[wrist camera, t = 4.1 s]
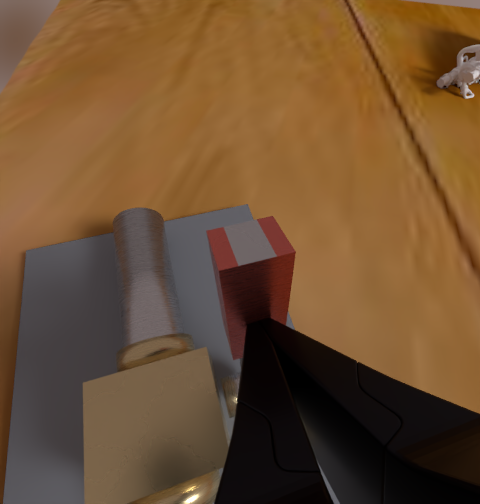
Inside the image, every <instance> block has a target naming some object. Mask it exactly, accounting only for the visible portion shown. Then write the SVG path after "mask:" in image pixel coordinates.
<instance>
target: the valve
mask: <svg viewBox="0 0 480 504" xmlns="http://www.w3.org/2000/svg"><path fill="white" fill-rule="evenodd" d="M113 232H114V244H115V256H116V268H117V281H118V293H119V305H120V317H121V329H122V342H123V348H122V349H120V350H119V351H117V353H116V365H117V373H114V374H111V375H108V376H104V377H101V378H97V379H94V380H91V381H87V382H84V383H83V432H84V500H85V504H214V501H215V497H216V494H217V490H218V486H219V483H220V479H221V477H220V472H219V469H221V468H224V464H225V461H226V457H227V453H228V449H229V444H230V438H229V434H228V429H227V425H226V420H225V416H224V411H223V407H222V402H221V398H220V394H219V389H218V385H217V380H216V376H215V371H214V367H213V362H212V358H211V355H210V353H209V351H208V349H207V347H203V348H200V349H197V350H195V348H194V343H193V338H192V335H190V334H185V331H184V326H183V320H182V315H181V310H180V304H179V299H178V294H177V288H176V283H175V278H174V273H173V267H172V262H171V257H170V251H169V246H168V241H167V235H166V230H165V225H164V220H163V217H162V216H161V214H160V213H158V212H157V211H155V210H152V209H148V208H132V209H128V210H125V211H123V212H121V213H119V214H118V215H117V216H116V217H115V218H114V220H113Z"/></svg>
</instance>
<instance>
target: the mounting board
mask: <svg viewBox="0 0 480 504" xmlns="http://www.w3.org/2000/svg"><path fill="white" fill-rule="evenodd" d="M248 221H253V217H252V214H251V212H250V209H249V207H248V204H246V205H242V206H237V207H232V208H227V209H222V210H218V211H213V212H208V213H203V214H199V215H194V216H189V217H184V218H179V219H175V220H170V221H165V222H164V225H165V230H166V235H167V241H168V246H169V251H170V257H171V262H172V267H173V273H174V278H175V283H176V288H177V294H178V299H179V304H180V310H181V315H182V320H183V326H184V331H185V334H190V335H192V338H193V343H194V348H195V350H197V349H200V348H203V347H207V349H208V351H209V353H210V355H211V358H212V362H213V367H214V371H215V376H216V380H217V385H218V389H219V394H220V398H221V402H222V407H223V411H224V416H225V420H226V425H227V429H228V434H229V438H230V440H231V436H232V431H233V424H234V418H235V417H233V418H229V414H228V410H227V406H226V402H225V397H224V393H223V389H222V384H221V379H220V378H223V377H226V376H229V375H232V374H235V373H239V372H241V365H240V359H236V360H233V358H232V354H231V350H230V347H229V343H228V339H227V336H226V332H225V328H224V325H223V319H222V314H221V309H220V303H219V298H218V292H217V287H216V281H215V276H214V270H213V265H212V259H211V254H210V249H209V243H208V238H207V232H206V231H207V230H212V229H216V228H221V227H225V226H230V225H234V224H239V223H243V222H248ZM286 326H288V327H290V328H292V329H294V330H295V328H294V326H293V323H292V321H291V318H290V315H289V313H288V314H287V322H286ZM122 348H123V342H122V329H121V317H120V305H119V293H118V281H117V268H116V256H115V244H114V232H113V233H108V234H103V235H98V236H94V237H89V238H84V239H79V240H74V241H70V242H65V243H60V244H55V245H51V246H46V247H41V248H36V249H31V250H27V251H26V260H25V271H24V282H23V292H22V303H21V314H20V325H19V336H18V346H17V357H16V368H15V379H14V390H13V400H12V411H11V422H10V433H9V444H8V454H7V465H6V476H5V487H4V498H3V504H85V500H84V432H83V383H84V382H87V381H91V380H94V379H97V378H101V377H104V376H108V375H111V374H114V373H117V365H116V353H117V351H119V350H120V349H122ZM317 462H318V461H317ZM318 465H319V463H318ZM319 468H320V470H321V474H322V476H323V479H324V481H325V484H326V486H327V489H328V491H329V493H330V496H331V498H332V500H333V502H334V504H340V503H339V501H338V499H337V497H336V495H335V494H334V492H333V490H332V488H331V486H330V484H329V482H328V480H327V478H326V477H325V475H324V473H323V471H322V469H321V467H320V465H319ZM219 472H220V477H221V475H222V472H223V468H221V469H219Z"/></svg>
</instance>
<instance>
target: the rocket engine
mask: <svg viewBox="0 0 480 504" xmlns="http://www.w3.org/2000/svg"><path fill="white" fill-rule="evenodd" d="M467 52H469V53H474V52H476V56H475V57H472V58H470V59H469V60H468V56H467V55H466V56H464V57H463V54H464V53H467ZM464 59H466V62H463V60H464ZM449 73H450V74H449ZM449 73H446V74H444V75H443V77H442V78H441V77H440V79H439V80H438V81H436V82H437V86H438V87H441V89H442V87H443V86H444V85H445V86H447V85H448V86H449V85H450V84H451V83H452V82H455V83H456V84H457V87H461V88H460V90H462V91H461V92H460V94H462V95H463V97H464V98H466V99H467V98H472V97H474V94H473V93H472V91H471V90H470V89H468V85H467V83H468V84H469V85H470V84H471V83H473V82H474V81H475V82H474V83H477V82H478V81H479V79H480V44H479V45H472V46H469V47H465V48H463V49H462V50H461V51H460V52H459V53H458V55H457V67H455V68H454V69H453V70H452V71H450V72H449ZM473 80H474V81H473ZM476 80H478V81H476ZM472 81H473V82H472ZM470 82H471V83H470ZM455 83H453V84H455ZM479 84H480V82H479ZM448 86H447V88H448ZM467 93H468V94H470V95H471V96H466V94H467Z"/></svg>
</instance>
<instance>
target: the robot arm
mask: <svg viewBox="0 0 480 504" xmlns="http://www.w3.org/2000/svg"><path fill="white" fill-rule="evenodd" d="M317 461H318V462H317ZM318 463H319V465H320V467H321V469H322V471H323V473H324V475H325V477H326V478H327V480H328V482H329V484H330V486H331V488H332V490H333V492H334V494H335V495H336V497H337V499H338V501H339V503H340V504H480V414H479V413H476V412H473V411H471V410H468V409H466V408H464V407H461V406H459V405H456V404H454V403H451V402H449V401H446V400H444V399H441V398H439V397H436V396H434V395H431V394H429V393H427V392H424V391H422V390H419V389H417V388H414V387H412V386H410V385H407V384H405V383H403V382H400V381H398V380H395V379H393V378H391V377H389V376H387V375H384V374H382V373H380V372H378V371H376V370H374V369H372V368H370V367H368V366H366V365H364V364H362V363H360V362H358V363H357V361H356V360H354V359H352V358H350V357H348V356H346V355H344V354H342V353H340V352H338V351H336V350H334V349H332V348H330V347H328V346H326V345H324V344H322V343H320V342H318V341H316V340H314V339H312V338H310V337H308V336H306V335H304V334H302V333H300V332H298V331H296V330H294V329H292V328H290V327H288V326H286V325H284V324H282V323H280V322H278V321H276V320H274V319H272V318H268V319H264V320H261V321H260V322H254V323H250V324H247V326H246V334H245V342H244V350H243V357H242V365H241V373H240V381H239V389H238V397H237V404H236V412H235V418H234V424H233V431H232V436H231V440H230V444H229V449H228V453H227V457H226V461H225V464H224V468H223V472H222V475H221V479H220V483H219V486H218V490H217V494H216V497H215V501H214V504H334V502H333V500H332V498H331V496H330V493H329V491H328V489H327V486H326V484H325V481H324V479H323V476H322V474H321V470H320V468H319V465H318Z"/></svg>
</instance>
